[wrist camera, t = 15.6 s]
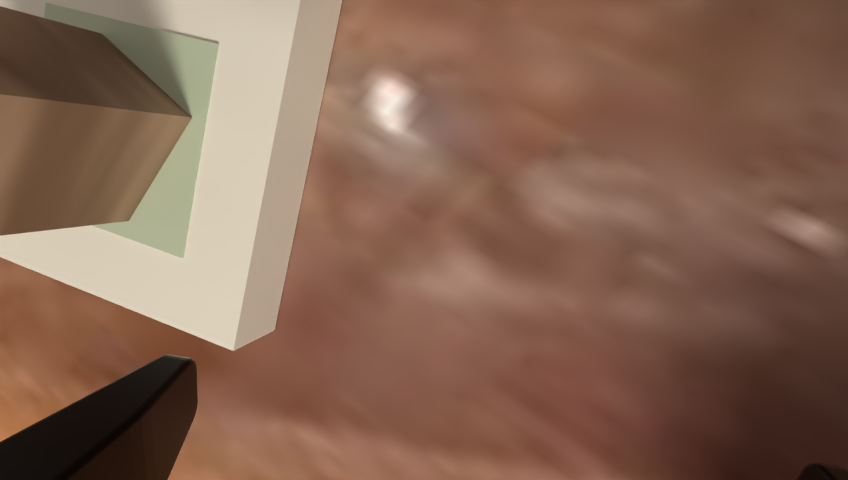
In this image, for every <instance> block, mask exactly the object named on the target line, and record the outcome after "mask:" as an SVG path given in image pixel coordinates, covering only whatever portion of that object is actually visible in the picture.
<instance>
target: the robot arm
mask: <svg viewBox="0 0 848 480" xmlns="http://www.w3.org/2000/svg"><path fill="white" fill-rule="evenodd" d="M197 401H198V400H197V368H196V363H195V361H194V360H193V359H191V358H188V357H182V356H176V355H164V356H161V357H159V358H157V359H155V360H153V361H152V362H150V363H148V364H146V365H144V366H142V367H140V368H138V369H136V370H135V371H133V372H131V373H129V374H127V375H125V376H123V377H121V378H120V379H118V380H116V381H114V382H112V383H110V384H108V385H106V386H105V387H103V388H101V389H99V390H97V391H95V392H93V393H91V394H89V395H88V396H86V397H84V398H82V399H80V400H78V401H76V402H74V403H73V404H71V405H69V406H67V407H65V408H63V409H61V410H59V411H57V412H56V413H54V414H52V415H50V416H48V417H46V418H44V419H42V420H41V421H39V422H37V423H35V424H33V425H31V426H29V427H27V428H26V429H24V430H22V431H20V432H18V433H16V434H14V435H12V436H10V437H9V438H7V439H5V440H3V441H1V442H0V480H167V479H168V477H169V475H170V473H171V470H172V468H173V466H174V463H175V461H176V459H177V456H178V454H179V452H180V449H181V447H182V445H183V442H184V440H185V438H186V436H187V433H188V431H189V429H190V426H191V424H192V422H193V419H194V417H195V413H196V409H197ZM797 480H848V471H847V470H846V469H844V468H842V467H839V466H835V465H829V464H823V463H816V462H814V463H810V464H808V465H807V466H805V467H804V469H803V470H802V472H801V473H800V475H799V477H798V478H797Z"/></svg>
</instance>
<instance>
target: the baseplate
mask: <svg viewBox="0 0 848 480" xmlns="http://www.w3.org/2000/svg"><path fill="white" fill-rule="evenodd" d="M341 5H342V0H0V6H1V7H5V8H9V9H13V10H16V11H20V12H24V13H27V14H31V15H35V16H39V17H42V18H46V19H50V20H53V21H57V22H61V23H65V24H68V25H72V26H76V27H79V28H83V29H87V30H91V31H94V32H98V33H102V34H103V35H104V36H105V37H106V38H107V39H108V40H109V41H111V42H112V43H113V44H114V45H115V46H116V47H117V48H118V49H119V50H120V51H121V52H122V53H123V54H124V55H126V56H127V57H128V58H129V59H130V60H131V61H132V62H133V63H134V64H135V65H136V66H137V67H138V68H139V69H141V70H142V71H143V72H144V73H145V74H146V75H147V76H148V77H149V78H150V79H151V80H152V81H153V82H154V83H156V84H157V85H158V86H159V87H160V88H161V89H162V90H163V91H164V92H165V93H166V94H167V95H168V96H169V97H171V98H172V99H173V100H174V101H175V102H176V103H177V104H178V105H179V106H180V107H181V108H182V109H183V110H184V111H185V112H187V113H188V114H189V115H190V116H191V117H192V119H191V120H190V122H189V124H188V125H187V127H186V128H185V130H184V132H183V133H182V135H181V137H180V138H179V140H178V142H177V143H176V145H175V146H174V148H173V150H172V151H171V153H170V155H169V156H168V158H167V159H166V161H165V163H164V164H163V166H162V168H161V169H160V171H159V173H158V174H157V176H156V177H155V179H154V181H153V182H152V184H151V186H150V187H149V189H148V191H147V192H146V194H145V195H144V197H143V199H142V200H141V202H140V204H139V205H138V207H137V208H136V210H135V212H134V213H133V215H132V217H131V218H130V220H129V221H125V222H116V223H107V224H99V225H90V226H81V227H72V228H64V229H55V230H46V231H37V232H28V233H20V234H11V235H2V236H0V257H1V258H4V259H6V260H9V261H11V262H14V263H16V264H19V265H21V266H24V267H26V268H29V269H31V270H34V271H36V272H39V273H41V274H44V275H46V276H49V277H51V278H54V279H56V280H59V281H61V282H64V283H66V284H68V285H71V286H73V287H76V288H78V289H81V290H83V291H86V292H88V293H91V294H93V295H96V296H98V297H101V298H103V299H106V300H108V301H111V302H113V303H116V304H118V305H121V306H123V307H126V308H128V309H130V310H133V311H135V312H138V313H140V314H143V315H145V316H148V317H150V318H153V319H155V320H158V321H160V322H163V323H165V324H168V325H170V326H173V327H175V328H178V329H180V330H183V331H185V332H188V333H190V334H193V335H195V336H197V337H200V338H202V339H205V340H207V341H210V342H212V343H215V344H217V345H220V346H222V347H225V348H227V349H230V350H232V351H234V350H236V349H238V348H240V347H242V346H244V345H246V344H248V343H250V342H252V341H254V340H256V339H258V338H260V337H262V336H264V335H266V334H268V333H270V332H272V331H274V330H275V326H276V321H277V316H278V311H279V306H280V302H281V297H282V292H283V287H284V282H285V277H286V272H287V268H288V263H289V258H290V253H291V248H292V243H293V238H294V234H295V229H296V224H297V219H298V214H299V209H300V204H301V200H302V195H303V190H304V185H305V180H306V175H307V170H308V166H309V161H310V156H311V151H312V146H313V141H314V136H315V132H316V127H317V122H318V117H319V112H320V107H321V102H322V97H323V93H324V88H325V83H326V78H327V73H328V68H329V63H330V59H331V54H332V49H333V44H334V39H335V34H336V29H337V25H338V20H339V15H340V10H341Z"/></svg>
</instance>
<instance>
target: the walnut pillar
mask: <svg viewBox="0 0 848 480" xmlns="http://www.w3.org/2000/svg"><path fill="white" fill-rule="evenodd" d="M191 119H192V117H191V116H190V115H189V114H188V113H187V112H185V111H184V110H183V109H182V108H181V107H180V106H179V105H178V104H177V103H176V102H175V101H174V100H173V99H172V98H171V97H169V96H168V95H167V94H166V93H165V92H164V91H163V90H162V89H161V88H160V87H159V86H158V85H157V84H156V83H154V82H153V81H152V80H151V79H150V78H149V77H148V76H147V75H146V74H145V73H144V72H143V71H142V70H141V69H139V68H138V67H137V66H136V65H135V64H134V63H133V62H132V61H131V60H130V59H129V58H128V57H127V56H126V55H124V54H123V53H122V52H121V51H120V50H119V49H118V48H117V47H116V46H115V45H114V44H113V43H112V42H111V41H109V40H108V39H107V38H106V37H105V36H104V35H103V34H102V33H98V32H94V31H91V30H87V29H83V28H79V27H76V26H72V25H68V24H65V23H61V22H57V21H53V20H50V19H46V18H42V17H39V16H35V15H31V14H27V13H24V12H20V11H16V10H13V9H9V8H5V7H1V6H0V236H2V235H11V234H20V233H28V232H37V231H46V230H55V229H64V228H72V227H81V226H90V225H99V224H107V223H116V222H125V221H129V220H130V218H131V217H132V215H133V213H134V212H135V210H136V208H137V207H138V205H139V204H140V202H141V200H142V199H143V197H144V195H145V194H146V192H147V191H148V189H149V187H150V186H151V184H152V182H153V181H154V179H155V177H156V176H157V174H158V173H159V171H160V169H161V168H162V166H163V164H164V163H165V161H166V159H167V158H168V156H169V155H170V153H171V151H172V150H173V148H174V146H175V145H176V143H177V142H178V140H179V138H180V137H181V135H182V133H183V132H184V130H185V128H186V127H187V125H188V124H189V122H190V120H191Z"/></svg>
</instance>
